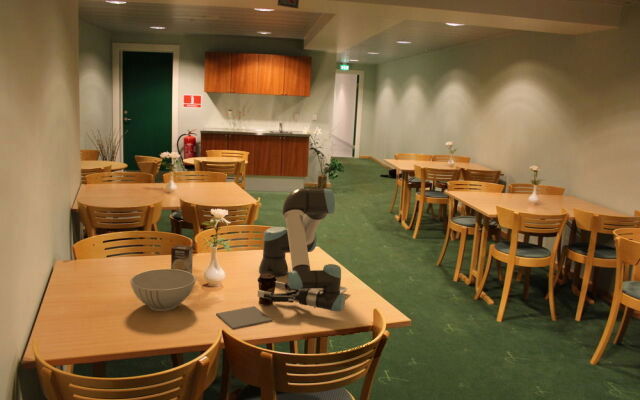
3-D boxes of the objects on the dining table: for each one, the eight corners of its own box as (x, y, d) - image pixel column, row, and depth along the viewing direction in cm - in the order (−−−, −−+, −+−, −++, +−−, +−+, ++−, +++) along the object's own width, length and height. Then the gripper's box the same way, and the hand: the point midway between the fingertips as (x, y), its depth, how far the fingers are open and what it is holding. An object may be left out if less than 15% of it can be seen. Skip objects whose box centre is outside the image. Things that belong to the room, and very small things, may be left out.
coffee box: (170, 279, 273) (170, 248, 270) (174, 275, 279) (175, 244, 276) (188, 281, 272) (188, 249, 269) (192, 277, 278) (193, 246, 275)
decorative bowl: (136, 322, 224) (136, 293, 221) (125, 298, 247) (125, 272, 245) (202, 313, 236) (203, 285, 234) (186, 291, 259) (186, 266, 257)
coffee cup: (278, 301, 253) (280, 274, 251) (271, 308, 246) (272, 279, 243) (261, 298, 256) (262, 271, 253) (253, 304, 248) (254, 276, 246)
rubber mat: (254, 307, 245) (254, 306, 245) (272, 320, 232) (272, 319, 232) (216, 314, 235) (216, 313, 235) (232, 329, 222) (232, 327, 222)
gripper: (297, 315, 231) (251, 305, 239) (319, 295, 254) (276, 287, 262) (298, 298, 230) (252, 289, 237) (320, 280, 253) (277, 272, 260)
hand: (264, 288), depth 249 cm, fingers open, 13 cm apart
